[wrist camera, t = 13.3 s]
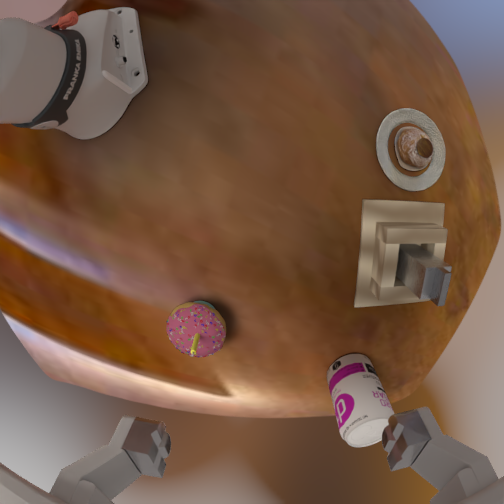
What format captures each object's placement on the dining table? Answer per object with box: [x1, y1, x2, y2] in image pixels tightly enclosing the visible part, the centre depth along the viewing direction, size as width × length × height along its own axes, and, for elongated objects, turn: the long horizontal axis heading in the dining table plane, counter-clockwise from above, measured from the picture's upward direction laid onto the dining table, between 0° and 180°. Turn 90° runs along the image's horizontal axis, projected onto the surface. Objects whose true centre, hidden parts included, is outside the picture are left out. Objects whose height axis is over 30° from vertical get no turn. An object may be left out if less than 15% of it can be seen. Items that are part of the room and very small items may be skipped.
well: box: [354, 199, 448, 307], centre depth 36 cm, size 16×14×5 cm
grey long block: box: [396, 244, 452, 306], centre depth 32 cm, size 4×4×12 cm
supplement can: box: [327, 354, 394, 447], centre depth 38 cm, size 8×8×15 cm
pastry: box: [376, 108, 445, 191], centre depth 32 cm, size 12×12×5 cm
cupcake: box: [167, 301, 226, 357], centre depth 37 cm, size 9×8×12 cm
